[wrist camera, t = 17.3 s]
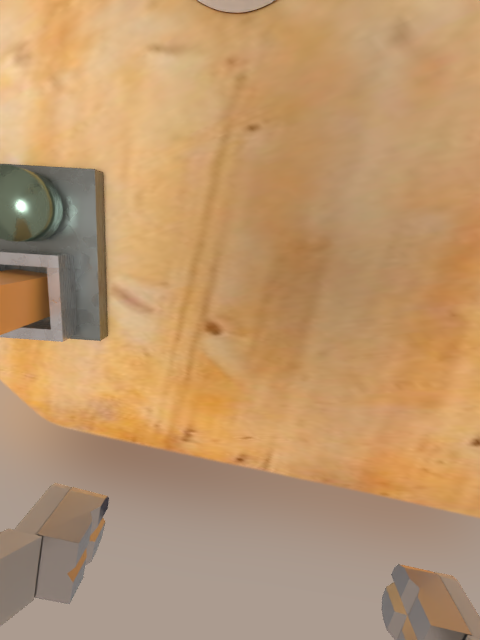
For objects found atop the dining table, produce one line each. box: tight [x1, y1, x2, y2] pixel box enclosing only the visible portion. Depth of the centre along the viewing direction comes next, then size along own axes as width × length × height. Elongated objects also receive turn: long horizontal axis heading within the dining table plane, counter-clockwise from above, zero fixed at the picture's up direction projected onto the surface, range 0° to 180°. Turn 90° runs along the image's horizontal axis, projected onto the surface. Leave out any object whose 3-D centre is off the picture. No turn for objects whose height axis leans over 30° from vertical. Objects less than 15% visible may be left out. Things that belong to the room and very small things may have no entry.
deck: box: [0, 164, 108, 342], centre depth 37 cm, size 18×14×5 cm
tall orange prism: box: [0, 269, 50, 335], centre depth 34 cm, size 4×4×10 cm
